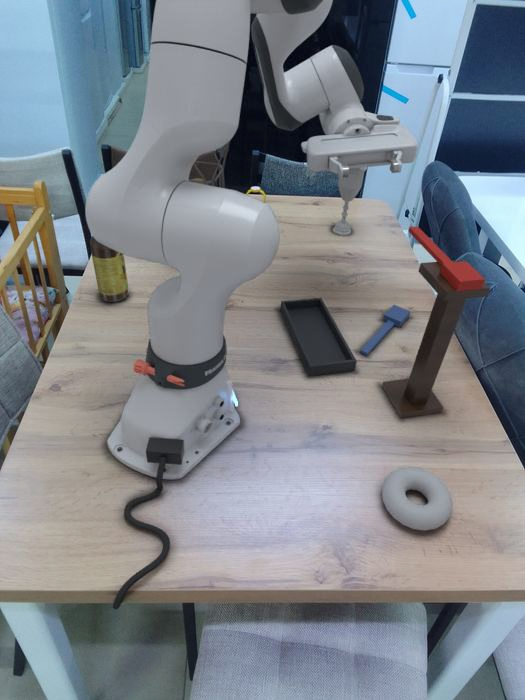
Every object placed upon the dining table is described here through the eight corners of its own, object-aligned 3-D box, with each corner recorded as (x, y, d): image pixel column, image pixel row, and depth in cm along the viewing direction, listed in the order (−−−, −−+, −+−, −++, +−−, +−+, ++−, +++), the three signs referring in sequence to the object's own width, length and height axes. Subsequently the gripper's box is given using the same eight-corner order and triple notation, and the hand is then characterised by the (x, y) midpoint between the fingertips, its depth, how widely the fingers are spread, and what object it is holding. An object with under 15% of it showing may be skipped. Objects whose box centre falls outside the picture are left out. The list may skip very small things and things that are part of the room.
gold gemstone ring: (265, 206, 150) (266, 187, 146) (264, 210, 147) (266, 190, 144) (245, 204, 150) (246, 185, 146) (244, 208, 148) (245, 189, 144)
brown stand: (381, 386, 93) (417, 263, 76) (420, 381, 95) (464, 259, 78) (400, 418, 87) (443, 292, 70) (441, 412, 89) (493, 287, 72)
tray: (354, 370, 96) (356, 361, 94) (308, 376, 94) (310, 366, 92) (319, 306, 111) (321, 297, 110) (279, 310, 109) (280, 301, 108)
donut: (457, 535, 71) (436, 475, 78) (465, 522, 68) (443, 461, 76) (387, 535, 70) (373, 474, 78) (393, 522, 68) (378, 461, 75)
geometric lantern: (221, 279, 118) (222, 120, 95) (156, 270, 119) (142, 112, 97) (235, 247, 130) (238, 100, 107) (175, 239, 131) (167, 92, 109)
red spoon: (481, 289, 72) (485, 279, 71) (456, 291, 71) (460, 281, 70) (423, 230, 85) (425, 221, 84) (401, 231, 84) (403, 222, 83)
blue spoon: (392, 310, 112) (393, 304, 111) (408, 317, 110) (410, 311, 109) (354, 350, 100) (355, 344, 99) (372, 358, 99) (373, 352, 98)
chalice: (326, 233, 139) (336, 168, 127) (331, 223, 144) (341, 159, 132) (352, 238, 137) (365, 172, 126) (356, 227, 142) (369, 164, 131)
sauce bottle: (133, 298, 110) (122, 212, 97) (105, 306, 107) (90, 219, 94) (122, 284, 114) (110, 200, 101) (95, 291, 111) (79, 206, 98)
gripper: (299, 125, 95) (313, 159, 86) (405, 115, 96) (430, 148, 87) (299, 157, 100) (311, 193, 90) (400, 147, 101) (423, 182, 91)
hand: (370, 171), depth 88 cm, fingers open, 8 cm apart
